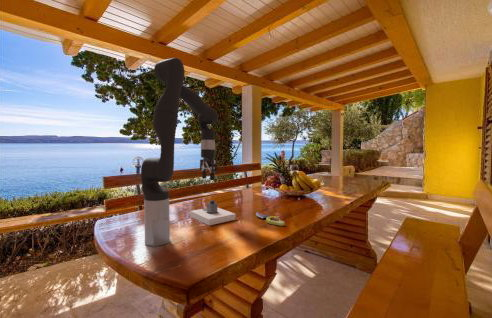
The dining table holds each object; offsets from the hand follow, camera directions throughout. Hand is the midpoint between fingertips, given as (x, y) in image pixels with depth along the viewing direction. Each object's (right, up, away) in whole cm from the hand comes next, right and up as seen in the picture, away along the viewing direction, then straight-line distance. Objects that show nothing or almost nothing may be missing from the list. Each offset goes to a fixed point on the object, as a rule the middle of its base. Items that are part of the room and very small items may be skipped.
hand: (208, 179), depth 125 cm
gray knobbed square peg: (+2, -21, +1) cm, 21 cm away
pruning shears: (+32, -22, -1) cm, 38 cm away
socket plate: (+2, -21, +1) cm, 21 cm away
